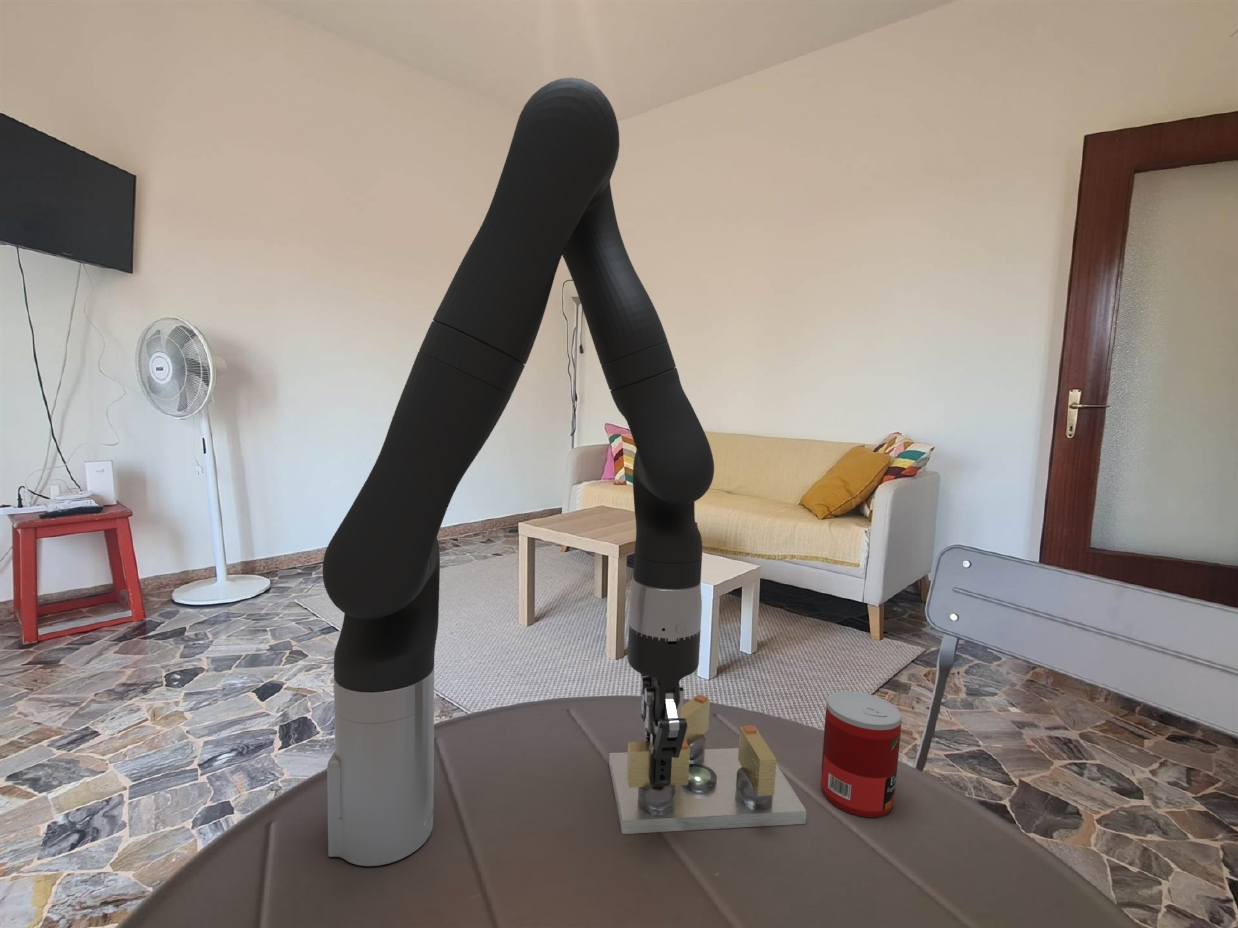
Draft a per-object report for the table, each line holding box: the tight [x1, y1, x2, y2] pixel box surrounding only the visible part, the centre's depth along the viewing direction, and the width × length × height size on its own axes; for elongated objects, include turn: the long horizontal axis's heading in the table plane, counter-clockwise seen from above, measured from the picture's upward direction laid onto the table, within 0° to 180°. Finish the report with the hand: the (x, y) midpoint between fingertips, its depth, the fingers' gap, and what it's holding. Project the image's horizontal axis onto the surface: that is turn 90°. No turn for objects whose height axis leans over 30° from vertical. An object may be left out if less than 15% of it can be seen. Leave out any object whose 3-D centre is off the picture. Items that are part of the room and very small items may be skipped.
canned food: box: [820, 690, 902, 818], centre depth 69 cm, size 8×8×11 cm
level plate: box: [608, 747, 807, 835], centre depth 69 cm, size 20×12×2 cm, turn 97°
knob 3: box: [735, 724, 777, 810], centre depth 66 cm, size 6×4×7 cm, turn 7°
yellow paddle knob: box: [681, 694, 711, 764], centre depth 73 cm, size 6×4×7 cm, turn 142°
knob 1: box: [627, 740, 690, 815], centre depth 65 cm, size 6×4×7 cm, turn 97°
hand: (657, 776), depth 65 cm, fingers closed on knob 1, 2 cm apart
